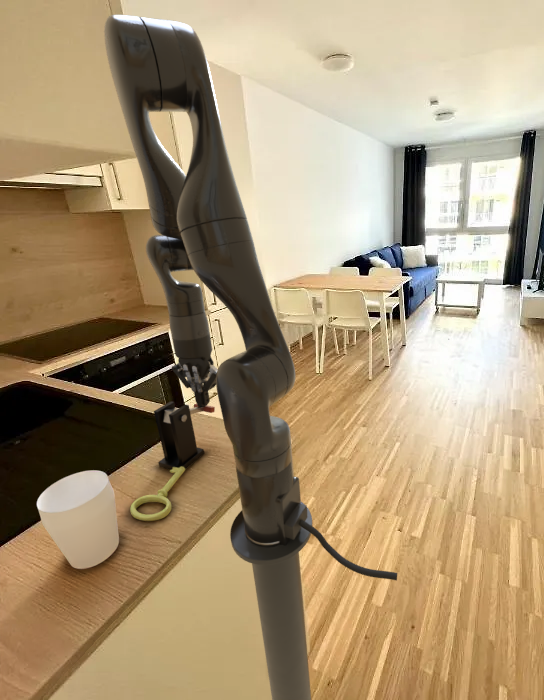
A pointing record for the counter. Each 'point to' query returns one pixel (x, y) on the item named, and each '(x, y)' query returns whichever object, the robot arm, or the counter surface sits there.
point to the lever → (192, 411)
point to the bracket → (177, 437)
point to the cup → (81, 517)
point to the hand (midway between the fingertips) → (203, 404)
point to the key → (157, 499)
